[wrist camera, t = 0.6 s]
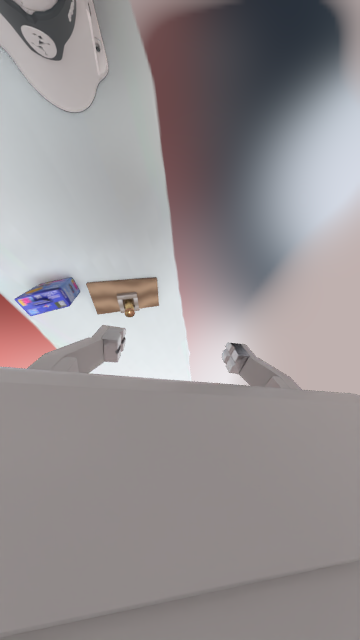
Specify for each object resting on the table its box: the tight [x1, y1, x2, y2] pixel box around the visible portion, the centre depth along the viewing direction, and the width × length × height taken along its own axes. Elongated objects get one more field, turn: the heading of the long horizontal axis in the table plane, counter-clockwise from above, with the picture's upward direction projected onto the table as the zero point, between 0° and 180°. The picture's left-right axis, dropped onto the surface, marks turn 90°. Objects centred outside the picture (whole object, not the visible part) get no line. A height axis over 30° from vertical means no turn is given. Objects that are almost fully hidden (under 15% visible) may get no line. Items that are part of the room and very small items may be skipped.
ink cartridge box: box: [14, 278, 80, 316], centre depth 38 cm, size 10×6×14 cm, turn 98°
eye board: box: [86, 277, 159, 314], centre depth 51 cm, size 12×24×4 cm, turn 89°
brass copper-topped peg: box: [124, 299, 135, 317], centre depth 49 cm, size 3×3×10 cm
